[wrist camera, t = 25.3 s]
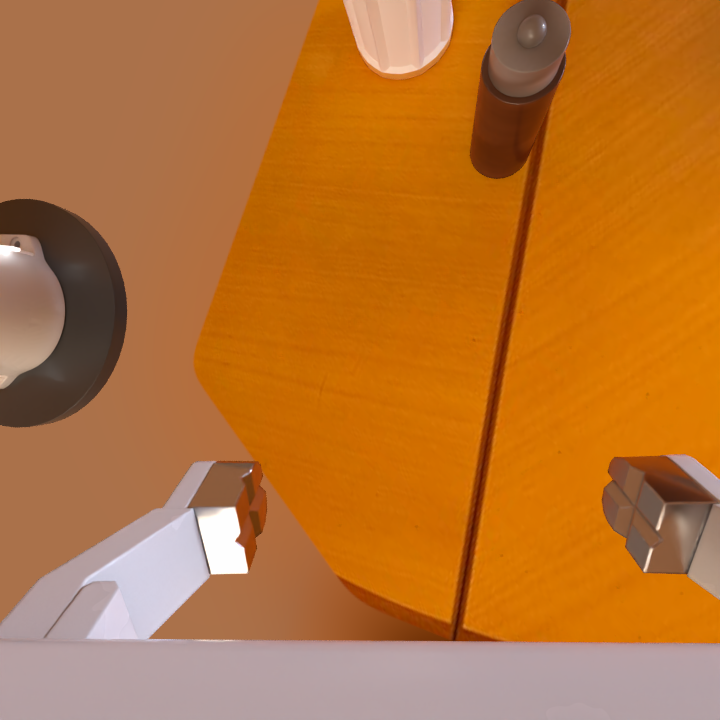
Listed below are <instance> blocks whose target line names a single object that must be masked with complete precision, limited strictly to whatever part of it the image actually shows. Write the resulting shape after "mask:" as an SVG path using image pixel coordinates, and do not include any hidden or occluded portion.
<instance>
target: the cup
mask: <svg viewBox="0 0 720 720" xmlns="http://www.w3.org/2000/svg"><path fill="white" fill-rule="evenodd" d="M343 2H344V5H345V8H346V11H347V15H348V18H349V21H350V24H351V27H352V31H353V34H354V37H355V40H356V43H357V47H358V49H359V53H360V55H361V57H362V59H363V60H364V62H365V63H366V65H367V66H368V67H369V69H371V70H372V71H373V72H375V73H376V74H378V75H380V76H381V77H383V78H388V79H399V80H402V79H407V78H412V77H415V76H418V75H421V74H422V73H424V72H425V71H427V70H428V69H429V68H431V67H432V66H433V65H434V64H436V63H437V62H438V60H439V59H440V58H441V56H442V55H443V54H444V52H445V51H446V49H447V48H448V46H449V43H450V39H451V35H452V30H453V9H452V3H451V0H343Z"/></svg>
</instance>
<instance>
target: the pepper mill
mask: <svg viewBox="0 0 720 720" xmlns="http://www.w3.org/2000/svg"><path fill="white" fill-rule="evenodd" d="M570 35H571V25H570V21H569V18H568V15H567V13H566V12H565V10H564V9H563V8H562V7H561V6H560V5H558V4H557V3H555V2H553V1H551V0H524V1H521V2H519V3H517V4H515V5H513V6H512V7H510V8H509V9H508V10H507V11H506V12H505V13H504V14H503V15H502V16H501V18H500V19H499V21H498V22H497V24H496V26H495V28H494V32H493V36H492V43H491V45H490V46H489V47H488V49H487V51H486V53H485V55H484V58H483V61H482V67H481V74H480V82H479V89H478V96H477V104H476V111H475V118H474V126H473V133H472V140H471V148H470V158H471V161H472V164H473V166H474V167H475V169H476V170H477V171H478V172H479V173H481V174H482V175H484V176H486V177H489V178H496V179H498V178H505V177H508V176H511V175H513V174H514V173H516V172H517V171H518V170H520V169H521V168H522V166H523V165H524V164H525V162H526V160H527V158H528V156H529V154H530V151H531V149H532V146H533V144H534V142H535V139H536V137H537V135H538V132H539V130H540V128H541V125H542V123H543V120H544V118H545V116H546V113H547V111H548V109H549V106H550V104H551V102H552V99H553V97H554V94H555V92H556V90H557V87H558V85H559V83H560V80H561V78H562V75H563V73H564V70H565V65H566V54H565V51H566V48H567V46H568V43H569V40H570Z"/></svg>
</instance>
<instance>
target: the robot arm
mask: <svg viewBox="0 0 720 720" xmlns="http://www.w3.org/2000/svg"><path fill="white" fill-rule="evenodd" d="M64 320H65V302H64V296H63V292H62V288H61V286H60V283H59V281H58V279H57V277H56V275H55V274H54V272H53V271H52V270H51V268H50V267H49V266H48V264H47V263H46V261H45V259H44V255H43V251H42V247H41V244H40V242H39V240H38V239H37V238H36V237H34V236H29V235H12V234H0V389H4V388H6V387H7V386H9V385H10V384H11V383H12V382H13V381H14V380H15V378H16V377H17V376H18V375H20V374H22V373H24V372H26V371H29V370H31V369H33V368H35V367H37V366H39V365H40V364H41V363H43V362H44V361H45V360H46V359H47V358H48V357H49V356H50V354H51V353H52V352H53V350H54V349H55V347H56V345H57V343H58V341H59V339H60V337H61V334H62V330H63V326H64ZM608 473H609V475H610V476H611V478H612V479H613V480H612V481H611V482H610V483H609V484H608V485H607V486H606V487H604V491H603V496H602V504H603V511H604V514H605V517H606V519H607V521H608V523H609V524H610V526H611V527H612V529H613V530H614V531H615V532H617V533H619V534H620V535H622V536H623V537H625V538H627V539H626V545H625V547H626V549H627V550H628V551H629V553H630V554H631V556H632V557H633V559H634V560H635V561H636V563H637V564H638V566H639V567H640V568H641V570H642V571H643V573H666V574H687V576H688V577H689V578H690V579H692V580H693V581H694V582H696V583H697V584H699V585H700V586H701V587H703V588H704V589H705V590H707V591H708V592H710V593H711V594H712V595H714V596H715V597H716V598H718V599H719V600H720V480H719V479H718V478H717V477H716V476H714V475H713V474H712V473H711V472H710V471H708V470H707V469H706V468H705V467H704V466H702V465H701V464H700V463H699V462H697V461H696V460H695V459H694V458H693V457H690V456H687V455H685V454H681V455H661V456H639V457H614V458H613V459H612V461H611V462H610V465H609V469H608ZM262 477H263V473H262V468H261V464H260V463H259V462H258V461H217V462H216V461H197V462H195V463H193V464H192V465H191V466H190V468H189V469H188V471H187V472H186V474H185V475H184V477H183V478H182V480H181V481H180V482H179V484H178V485H177V487H176V488H175V490H174V491H173V493H172V494H171V496H170V497H169V499H168V500H167V502H166V503H165V505H164V506H163V507H162V509H154V510H152V511H150V512H149V513H147V514H146V515H144V516H142V517H141V518H139V519H137V520H136V521H134V522H132V523H131V524H129V525H127V526H126V527H124V528H122V529H121V530H119V531H118V532H116V533H114V534H113V535H111V536H109V537H107V538H106V539H104V540H103V541H101V542H99V543H98V544H96V545H94V546H93V547H91V548H89V549H88V550H86V551H84V552H83V553H81V554H79V555H78V556H76V557H75V558H73V559H71V560H70V561H68V562H66V563H65V564H63V565H61V566H60V567H58V568H56V569H55V570H53V571H52V572H50V573H48V574H46V575H45V576H43V577H41V578H40V579H38V581H37V582H36V583H35V584H34V585H33V586H32V587H31V589H30V590H29V591H28V592H27V593H26V594H25V595H24V597H23V598H22V599H21V600H20V601H19V602H18V604H17V605H16V606H15V607H14V608H13V609H12V610H11V612H10V613H9V614H8V615H7V616H6V617H5V618H4V620H3V621H2V622H1V623H0V720H720V643H600V642H466V641H315V640H313V641H312V640H307V641H305V640H178V639H177V640H176V639H175V640H174V639H173V640H172V639H171V640H170V639H148V638H149V637H150V636H151V635H152V634H153V633H154V632H155V631H156V630H157V629H158V628H159V627H160V626H161V625H162V624H163V623H164V622H165V621H166V620H167V619H168V618H169V617H170V616H171V615H172V614H173V613H174V612H175V611H176V610H177V609H178V608H179V607H180V606H181V605H182V604H183V603H184V602H185V601H186V600H187V599H188V598H189V597H190V596H191V595H192V594H193V593H194V592H195V591H196V590H197V589H198V588H199V587H200V586H201V585H202V584H203V583H204V582H205V581H206V580H207V579H208V578H209V577H210V574H233V573H234V574H235V573H249V570H250V567H251V564H252V561H253V558H254V555H255V552H256V549H257V545H256V539H255V538H256V537H257V536H258V535H259V534H261V533H262V531H263V528H264V525H265V521H266V513H267V498H266V491H265V490H264V489H263V488H262V487H261V486H260V483H261V480H262Z"/></svg>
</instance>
